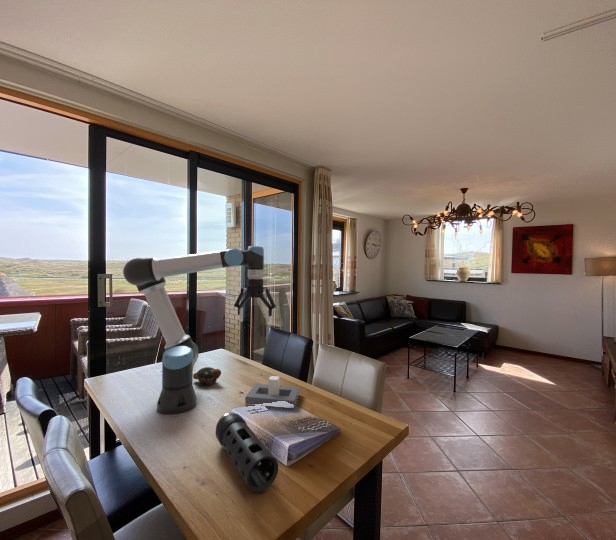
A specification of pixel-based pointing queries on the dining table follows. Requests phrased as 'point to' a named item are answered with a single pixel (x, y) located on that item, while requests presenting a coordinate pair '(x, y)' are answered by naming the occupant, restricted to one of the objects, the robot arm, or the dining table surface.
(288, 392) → the block
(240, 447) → the muzzle brake
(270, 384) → the plug
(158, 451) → the dining table surface
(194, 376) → the decorative turtle
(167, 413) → the robot arm
